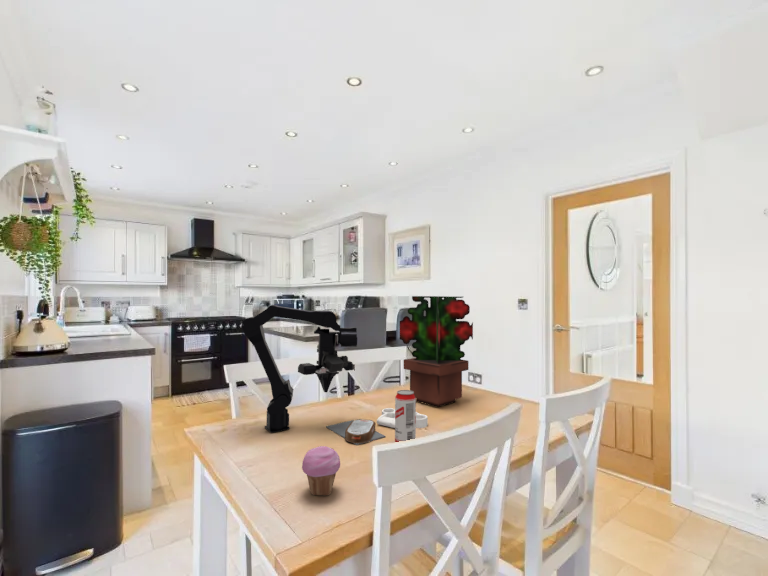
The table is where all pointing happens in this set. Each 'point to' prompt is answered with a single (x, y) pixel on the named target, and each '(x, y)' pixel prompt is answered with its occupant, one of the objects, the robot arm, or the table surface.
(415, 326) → the potted plant
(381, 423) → the white fidget spinner
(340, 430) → the mat
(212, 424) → the table surface
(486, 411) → the table surface
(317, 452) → the cupcake
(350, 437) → the tin
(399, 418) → the beer can
